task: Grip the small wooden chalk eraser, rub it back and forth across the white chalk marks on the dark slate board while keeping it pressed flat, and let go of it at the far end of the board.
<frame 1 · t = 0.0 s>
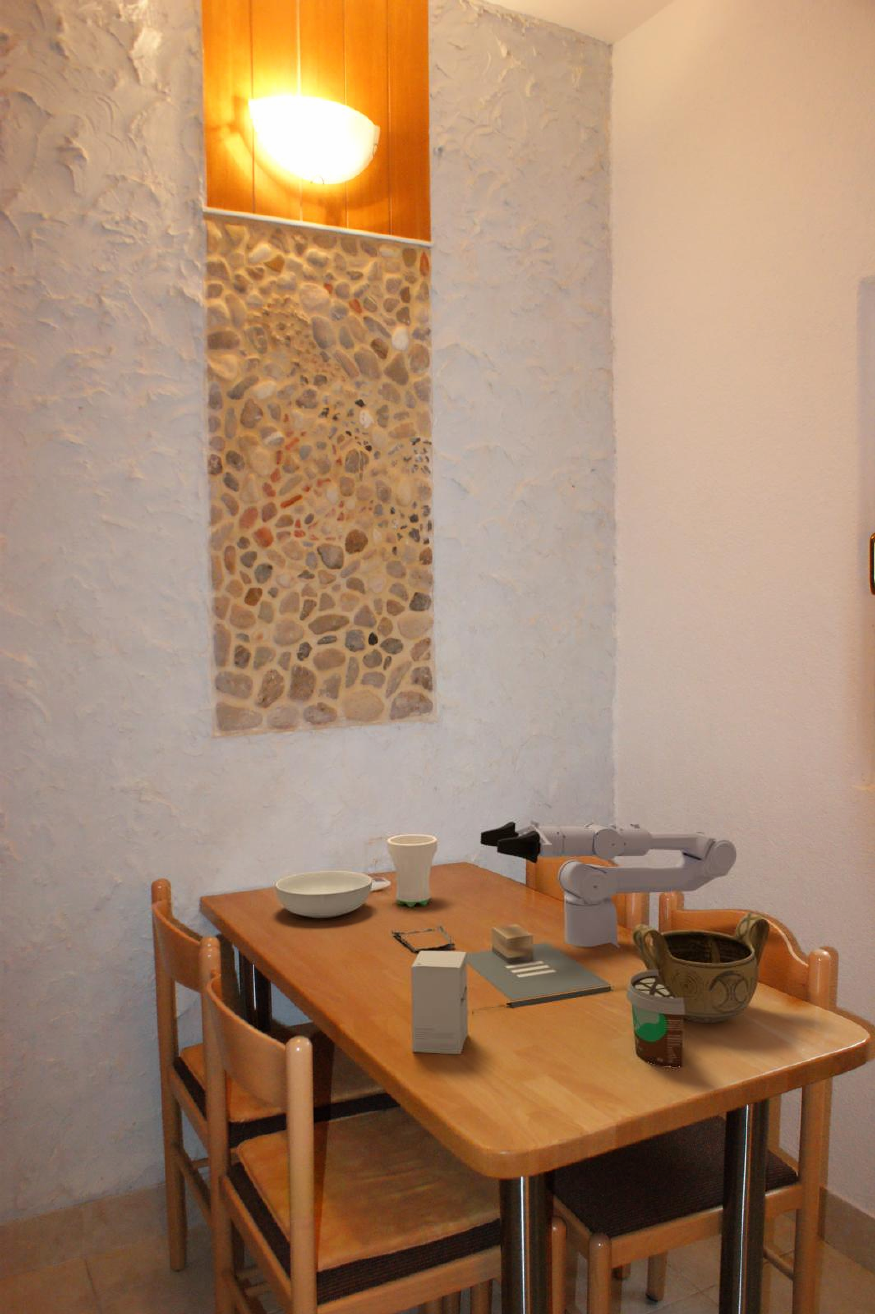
hand: (489, 842, 179), 22 cm above the table, tool horizontal, fingers open, 7 cm apart
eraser: (512, 955, 178), point 1 cm above the table, touching slate board
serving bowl: (324, 913, 212), on the table
cup: (413, 903, 218), on the table
food container: (650, 1055, 139), on the table
supplement box: (440, 1044, 144), on the table
ceramic bowl: (701, 1016, 152), on the table
slate board: (530, 975, 171), on the table
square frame: (424, 950, 187), on the table
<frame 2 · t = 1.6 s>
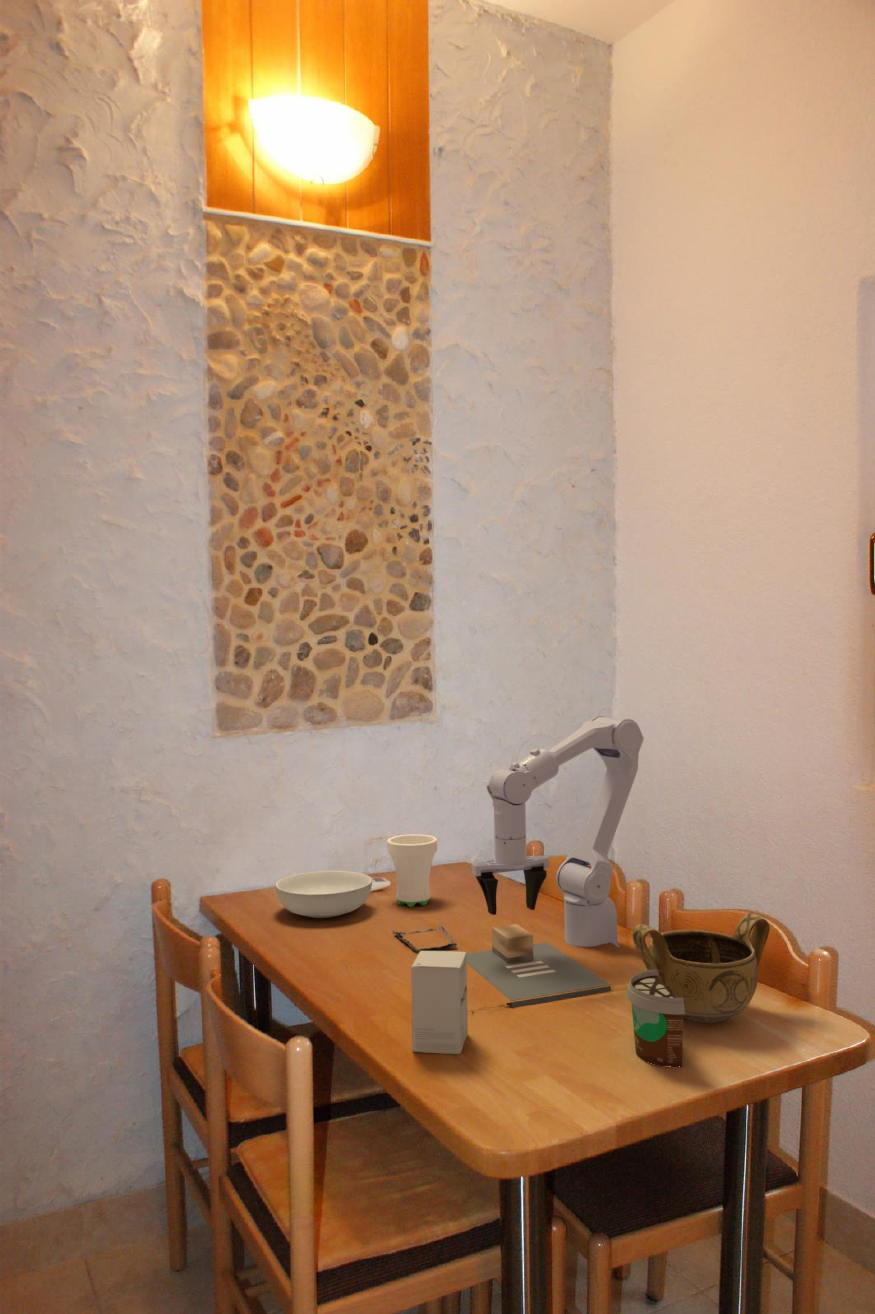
hand: (511, 910, 178), 9 cm above the table, tool pointing down, fingers open, 7 cm apart
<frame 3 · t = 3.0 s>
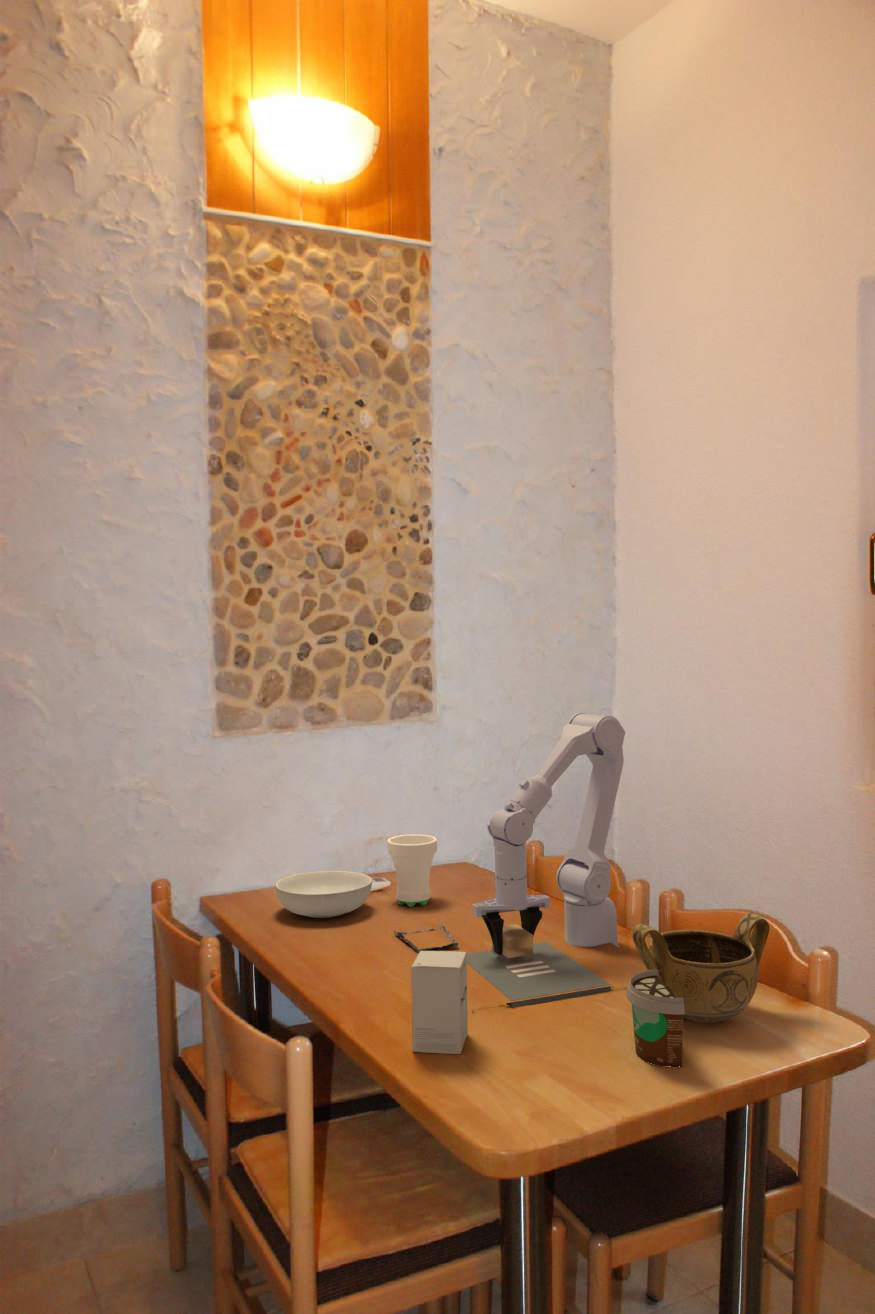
hand: (512, 950, 178), 2 cm above the table, tool pointing down, fingers closed on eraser, 5 cm apart
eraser: (512, 955, 178), point 1 cm above the table, touching gripper, slate board
everything else where it was.
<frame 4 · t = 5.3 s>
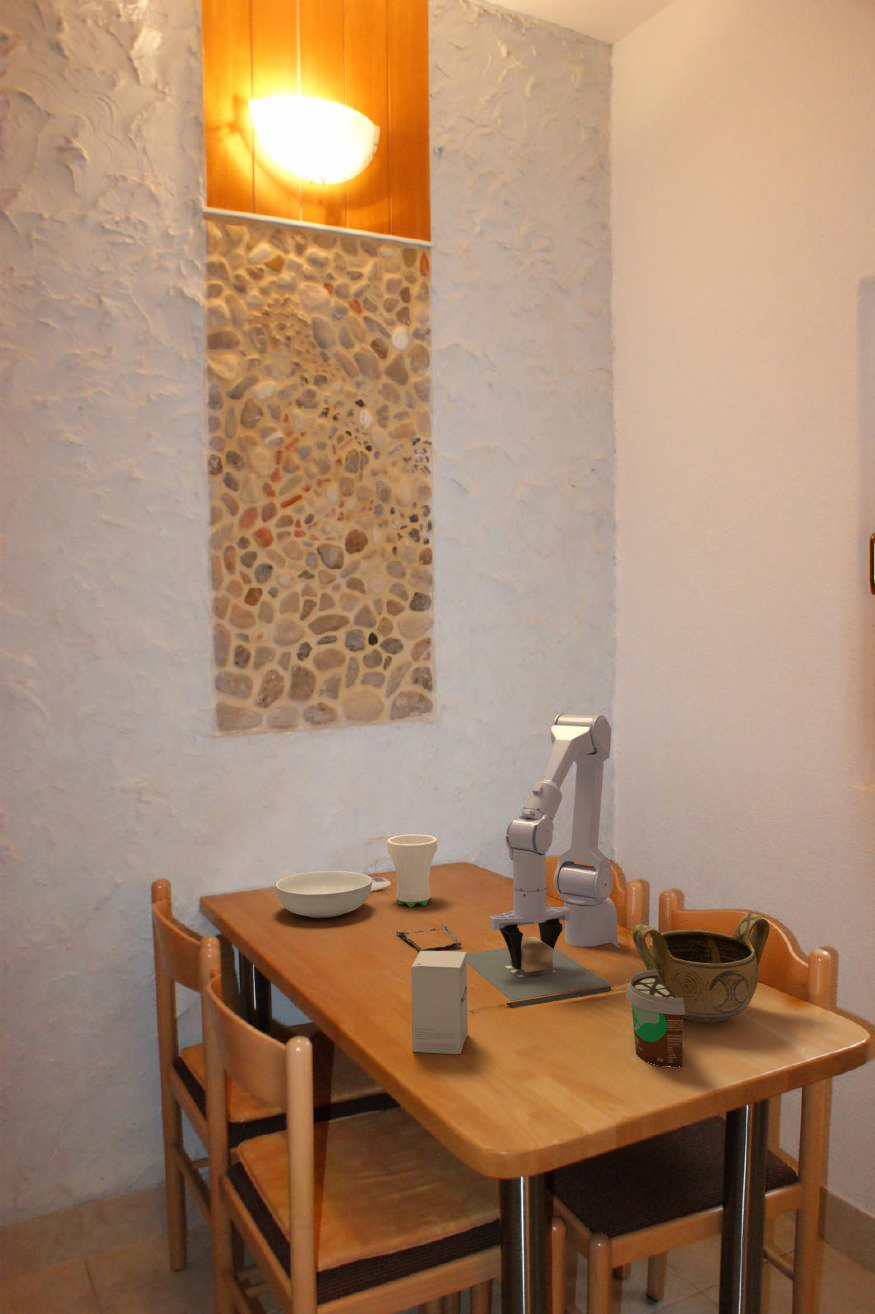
hand: (531, 965, 170), 2 cm above the table, tool pointing down, fingers closed on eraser, 5 cm apart
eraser: (531, 969, 170), point 1 cm above the table, touching gripper
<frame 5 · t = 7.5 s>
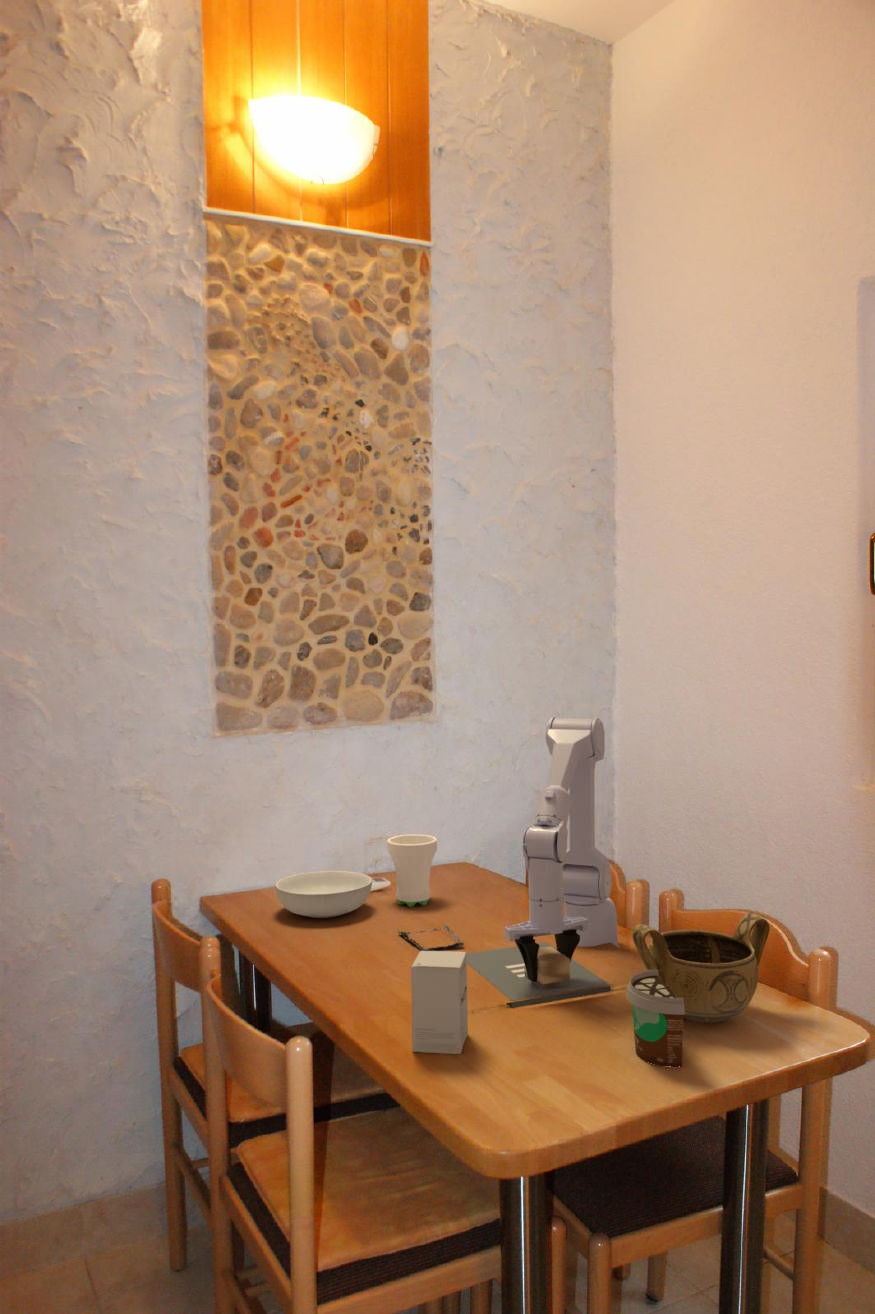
hand: (547, 977, 164), 2 cm above the table, tool pointing down, fingers closed on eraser, 5 cm apart
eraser: (547, 980, 165), point 1 cm above the table, touching gripper
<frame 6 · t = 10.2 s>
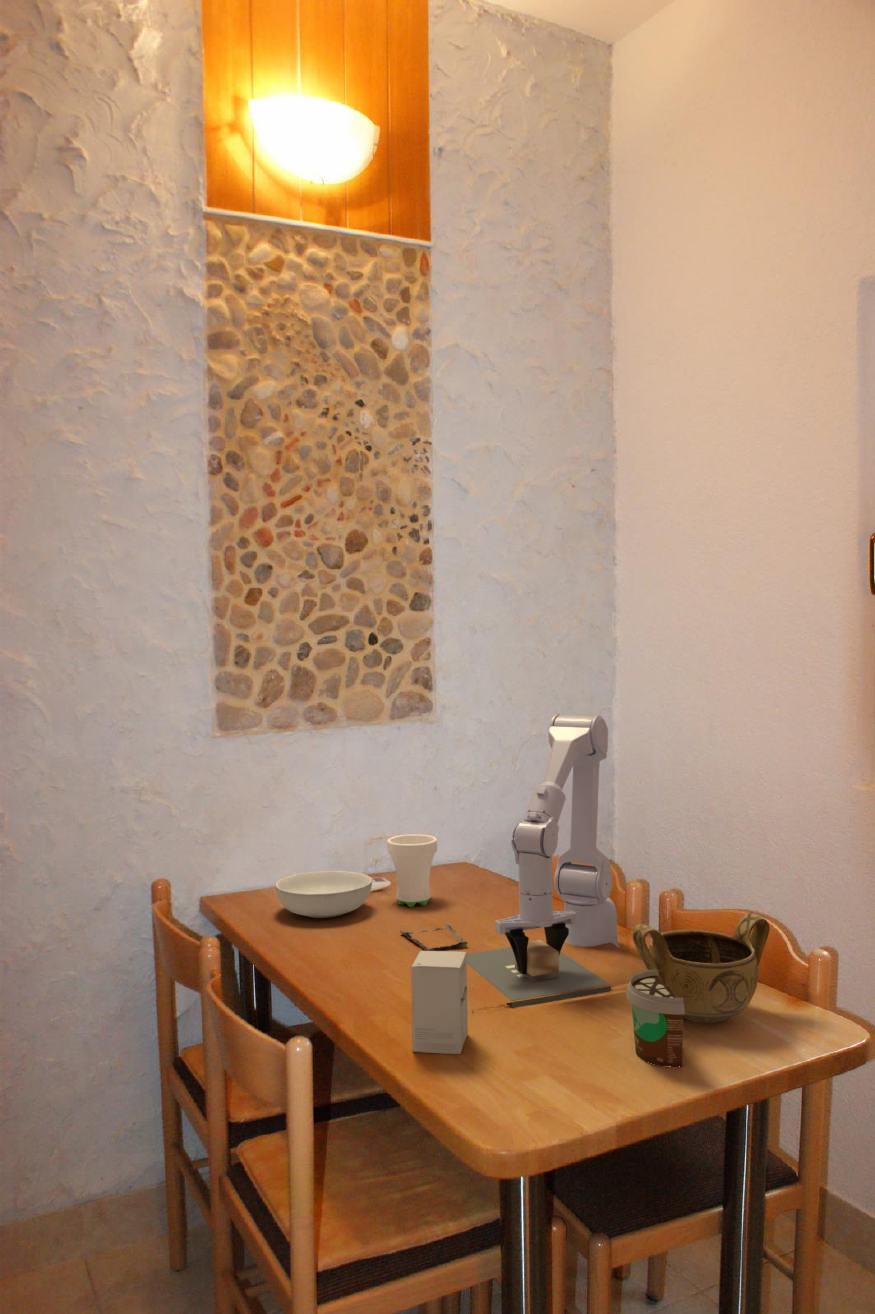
hand: (537, 969, 168), 2 cm above the table, tool pointing down, fingers closed on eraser, 5 cm apart
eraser: (536, 973, 168), point 1 cm above the table, touching gripper
when the fingers open (2 cm above the table, at t = 12.5 s): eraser stays where it is, resting on slate board.
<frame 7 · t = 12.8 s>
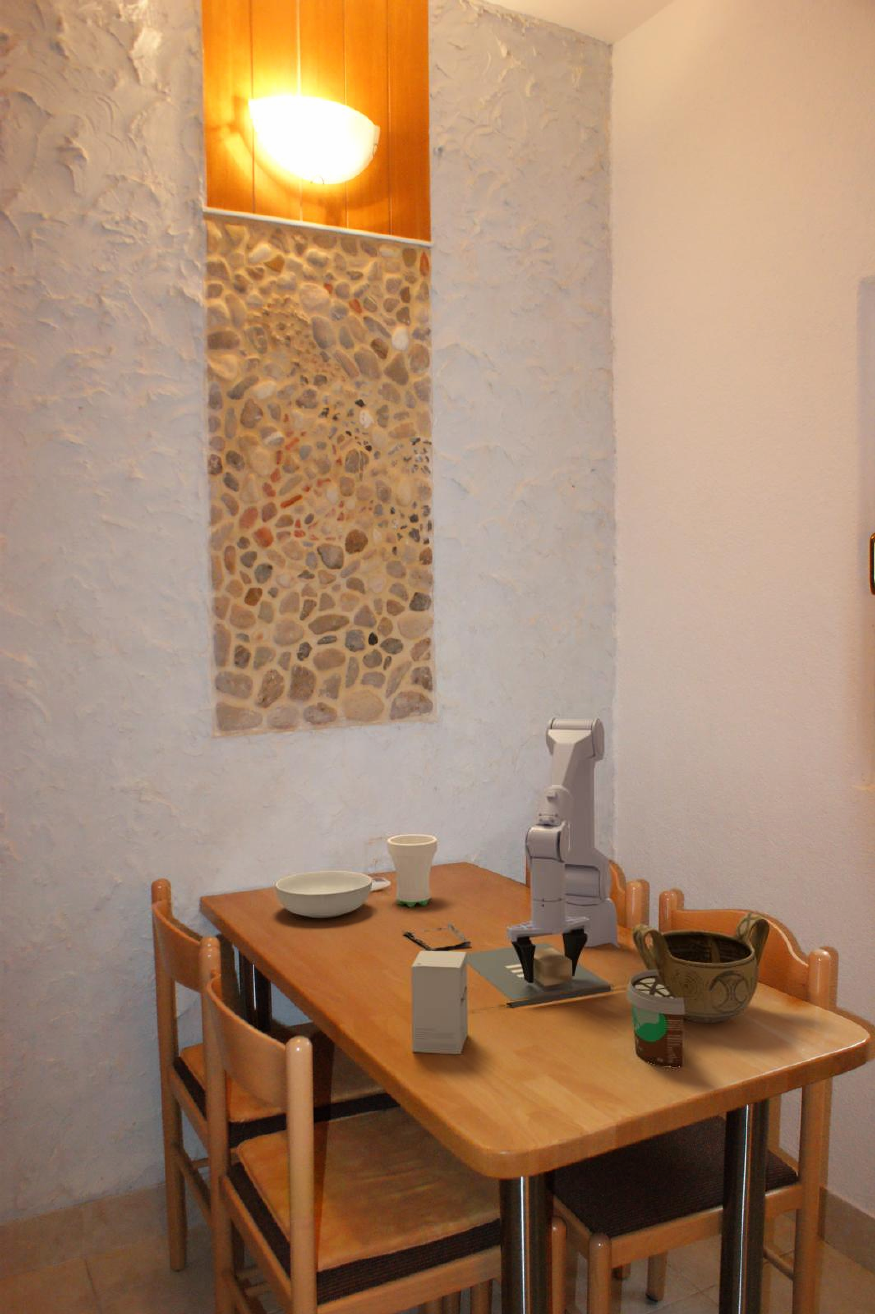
hand: (549, 977, 164), 2 cm above the table, tool pointing down, fingers open, 7 cm apart
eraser: (549, 982, 164), point 1 cm above the table, touching slate board
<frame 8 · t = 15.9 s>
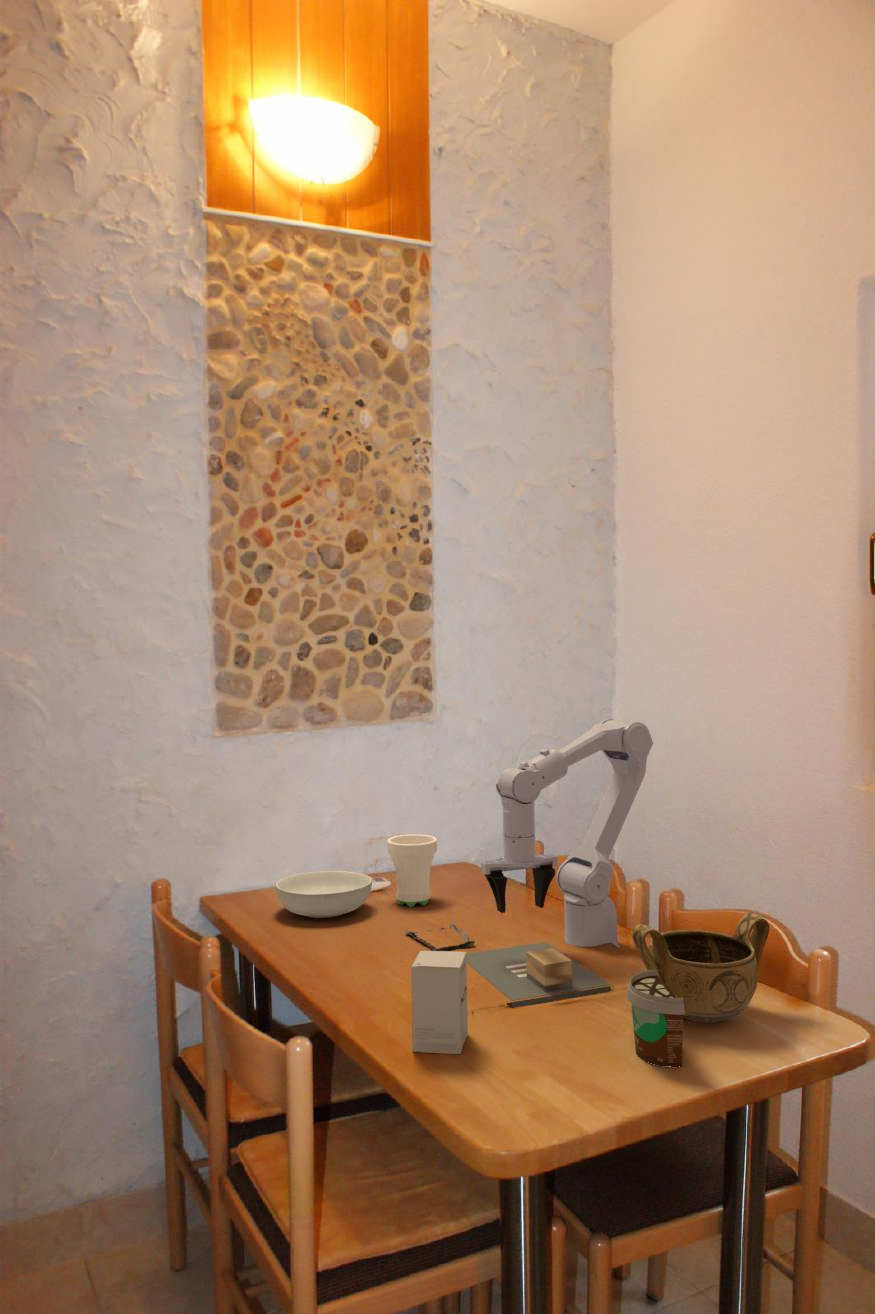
hand: (520, 908, 179), 9 cm above the table, tool pointing down, fingers open, 7 cm apart
at the end: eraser 0.2 cm from the target spot on the slate board, point 1.2 cm above the slate board's base; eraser tilted 0°; the gripper is holding nothing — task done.
